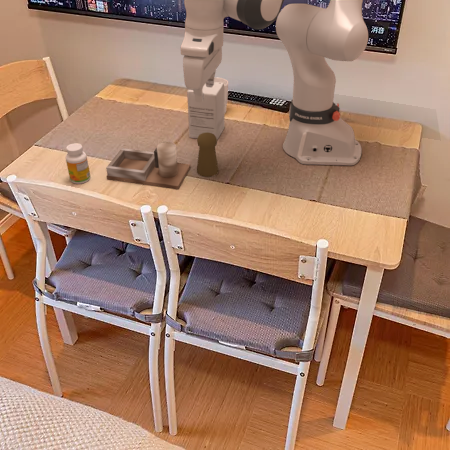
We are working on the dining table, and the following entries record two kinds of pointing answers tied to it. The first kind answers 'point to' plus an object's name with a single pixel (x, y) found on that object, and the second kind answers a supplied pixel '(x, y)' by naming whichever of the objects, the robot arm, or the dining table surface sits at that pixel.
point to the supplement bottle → (77, 164)
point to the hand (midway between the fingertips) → (204, 93)
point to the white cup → (224, 90)
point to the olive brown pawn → (207, 155)
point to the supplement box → (206, 111)
